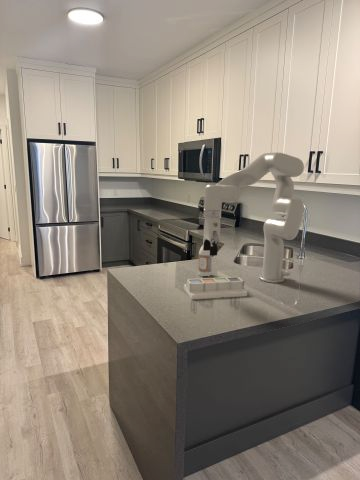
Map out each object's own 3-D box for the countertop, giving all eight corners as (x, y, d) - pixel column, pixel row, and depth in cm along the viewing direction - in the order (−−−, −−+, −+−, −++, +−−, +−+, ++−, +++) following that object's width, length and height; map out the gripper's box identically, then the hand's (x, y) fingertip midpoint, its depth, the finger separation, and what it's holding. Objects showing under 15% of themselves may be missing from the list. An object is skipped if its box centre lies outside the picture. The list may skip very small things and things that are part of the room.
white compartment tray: (234, 285, 156) (235, 274, 155) (246, 296, 143) (247, 283, 142) (184, 288, 151) (184, 276, 150) (191, 299, 138) (192, 286, 137)
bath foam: (196, 275, 171) (197, 238, 167) (201, 272, 177) (203, 236, 173) (208, 277, 168) (209, 239, 164) (213, 274, 173) (215, 237, 170)
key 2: (224, 282, 150) (224, 279, 149) (227, 285, 145) (227, 282, 145) (215, 283, 149) (215, 279, 148) (218, 286, 145) (218, 282, 144)
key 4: (199, 284, 147) (199, 280, 147) (201, 287, 143) (201, 283, 143) (189, 284, 146) (189, 280, 146) (192, 287, 142) (192, 283, 142)
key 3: (211, 283, 148) (211, 279, 148) (214, 286, 144) (214, 282, 144) (202, 283, 147) (202, 280, 147) (205, 287, 143) (205, 283, 143)
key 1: (236, 282, 151) (236, 278, 151) (240, 285, 147) (240, 281, 146) (227, 282, 150) (227, 278, 150) (231, 285, 146) (231, 281, 145)
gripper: (227, 216, 133) (224, 257, 136) (214, 212, 150) (212, 248, 153) (209, 216, 131) (207, 257, 135) (198, 211, 148) (196, 248, 151)
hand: (209, 252), depth 144 cm, fingers open, 9 cm apart
